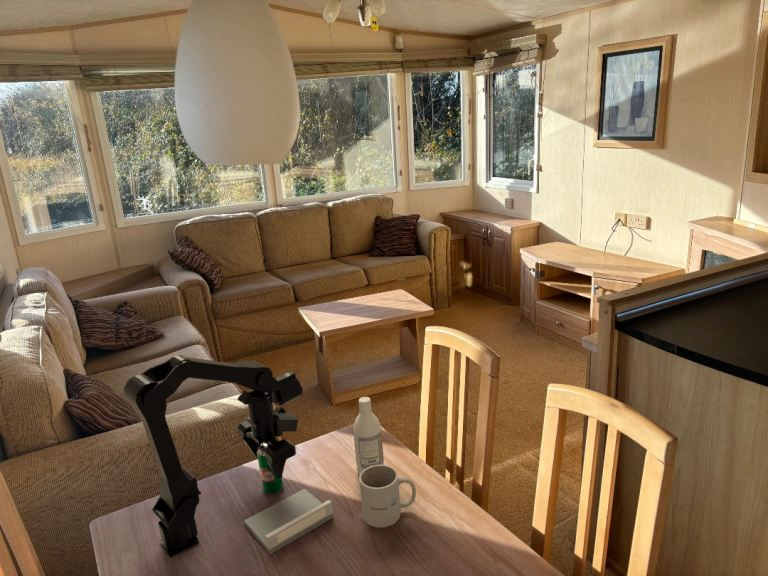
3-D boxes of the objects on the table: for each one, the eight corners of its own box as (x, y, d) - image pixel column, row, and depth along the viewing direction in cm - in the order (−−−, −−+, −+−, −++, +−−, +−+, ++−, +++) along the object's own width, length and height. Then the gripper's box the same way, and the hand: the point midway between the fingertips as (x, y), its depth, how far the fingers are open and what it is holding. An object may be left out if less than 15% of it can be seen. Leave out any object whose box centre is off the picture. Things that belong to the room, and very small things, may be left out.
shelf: (270, 555, 116) (268, 538, 114) (244, 525, 125) (242, 509, 124) (334, 517, 125) (332, 502, 124) (305, 492, 134) (303, 477, 133)
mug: (361, 528, 121) (357, 489, 118) (364, 501, 130) (360, 465, 127) (417, 526, 121) (414, 487, 118) (416, 500, 129) (414, 463, 126)
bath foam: (389, 470, 140) (384, 400, 134) (366, 481, 137) (359, 409, 131) (375, 458, 146) (369, 389, 140) (352, 467, 142) (345, 398, 136)
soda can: (258, 492, 136) (251, 449, 132) (271, 480, 140) (265, 438, 136) (275, 497, 133) (268, 454, 130) (287, 485, 137) (281, 443, 134)
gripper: (311, 414, 128) (319, 471, 133) (273, 388, 142) (280, 441, 147) (268, 433, 121) (277, 493, 126) (232, 403, 135) (241, 458, 140)
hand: (270, 469), depth 135 cm, fingers open, 9 cm apart
